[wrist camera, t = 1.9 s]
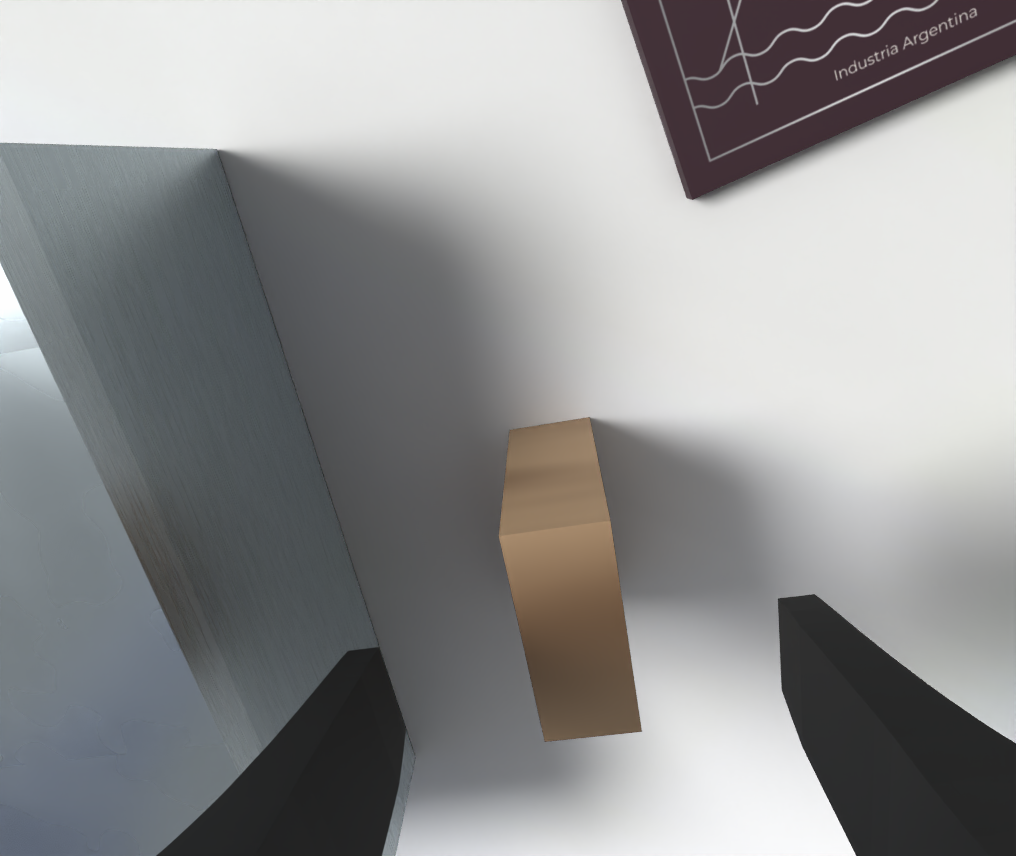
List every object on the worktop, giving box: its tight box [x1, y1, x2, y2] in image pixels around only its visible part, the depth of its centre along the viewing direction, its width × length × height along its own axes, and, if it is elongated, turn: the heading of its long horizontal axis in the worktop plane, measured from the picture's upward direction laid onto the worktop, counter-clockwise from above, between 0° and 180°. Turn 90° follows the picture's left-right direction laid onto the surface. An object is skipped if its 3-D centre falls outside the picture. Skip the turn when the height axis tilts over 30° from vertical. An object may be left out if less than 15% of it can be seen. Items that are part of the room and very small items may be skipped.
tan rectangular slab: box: [499, 417, 642, 742], centre depth 15 cm, size 5×2×5 cm, turn 11°
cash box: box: [0, 143, 415, 856], centre depth 15 cm, size 18×12×7 cm, turn 11°
